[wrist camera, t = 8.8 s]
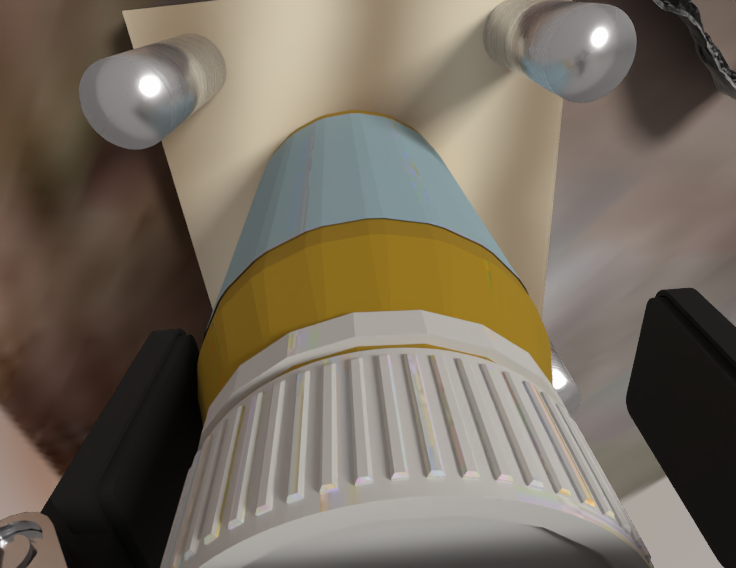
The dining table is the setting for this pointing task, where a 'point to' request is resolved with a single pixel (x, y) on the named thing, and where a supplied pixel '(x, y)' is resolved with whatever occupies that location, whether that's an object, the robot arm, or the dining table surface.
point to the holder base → (360, 92)
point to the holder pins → (501, 40)
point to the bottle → (383, 382)
